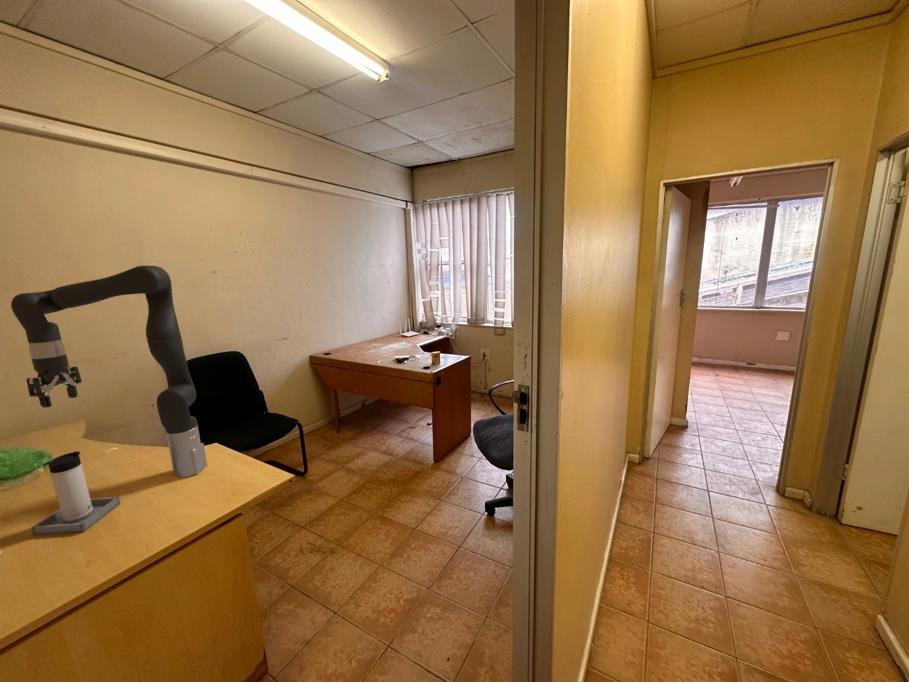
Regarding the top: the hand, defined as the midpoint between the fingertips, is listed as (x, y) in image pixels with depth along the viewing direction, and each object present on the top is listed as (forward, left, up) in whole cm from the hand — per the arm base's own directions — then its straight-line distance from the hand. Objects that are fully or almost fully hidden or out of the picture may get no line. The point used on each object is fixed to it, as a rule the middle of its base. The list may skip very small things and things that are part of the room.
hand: (60, 402), depth 116 cm
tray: (-15, +18, -31) cm, 39 cm away
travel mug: (-15, +18, -31) cm, 39 cm away
